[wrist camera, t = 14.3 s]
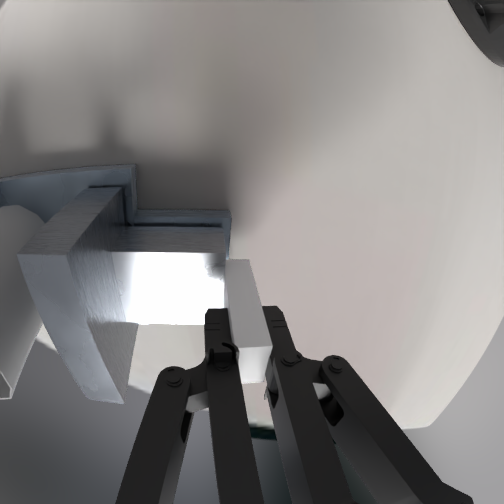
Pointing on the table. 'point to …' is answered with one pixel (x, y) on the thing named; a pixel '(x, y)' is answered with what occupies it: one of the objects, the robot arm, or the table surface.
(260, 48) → the table surface
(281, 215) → the table surface
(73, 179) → the vise base
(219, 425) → the robot arm
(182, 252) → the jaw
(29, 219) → the cup
